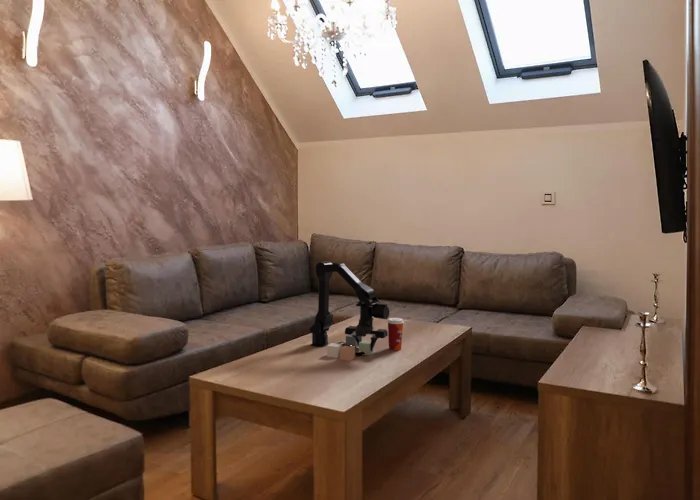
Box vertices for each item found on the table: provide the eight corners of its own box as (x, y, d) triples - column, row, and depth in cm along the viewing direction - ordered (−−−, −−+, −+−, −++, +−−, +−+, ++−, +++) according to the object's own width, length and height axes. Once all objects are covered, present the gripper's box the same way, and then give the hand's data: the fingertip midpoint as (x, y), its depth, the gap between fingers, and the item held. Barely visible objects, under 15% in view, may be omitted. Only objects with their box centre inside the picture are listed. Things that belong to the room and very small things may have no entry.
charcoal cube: (345, 346, 267) (345, 336, 266) (349, 344, 271) (349, 333, 271) (355, 347, 265) (355, 337, 264) (359, 345, 269) (359, 334, 269)
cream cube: (327, 356, 249) (327, 345, 249) (331, 353, 254) (331, 342, 254) (337, 358, 248) (337, 346, 247) (342, 355, 252) (342, 344, 252)
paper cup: (402, 351, 259) (403, 321, 257) (385, 350, 260) (386, 320, 259) (404, 347, 266) (404, 317, 265) (387, 346, 268) (388, 317, 266)
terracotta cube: (339, 359, 245) (340, 348, 244) (344, 356, 250) (344, 345, 249) (350, 361, 243) (350, 349, 243) (354, 358, 248) (355, 347, 247)
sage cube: (358, 353, 254) (358, 342, 254) (362, 350, 259) (362, 340, 259) (369, 354, 253) (369, 344, 252) (372, 352, 257) (373, 341, 257)
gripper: (340, 318, 250) (339, 352, 252) (380, 322, 243) (379, 357, 245) (349, 313, 261) (349, 346, 262) (388, 317, 254) (387, 351, 255)
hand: (365, 350), depth 256 cm, fingers closed on sage cube, 5 cm apart
